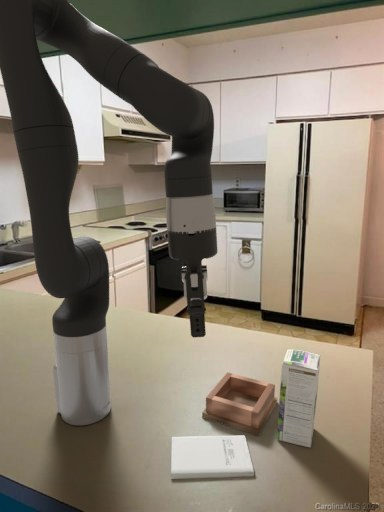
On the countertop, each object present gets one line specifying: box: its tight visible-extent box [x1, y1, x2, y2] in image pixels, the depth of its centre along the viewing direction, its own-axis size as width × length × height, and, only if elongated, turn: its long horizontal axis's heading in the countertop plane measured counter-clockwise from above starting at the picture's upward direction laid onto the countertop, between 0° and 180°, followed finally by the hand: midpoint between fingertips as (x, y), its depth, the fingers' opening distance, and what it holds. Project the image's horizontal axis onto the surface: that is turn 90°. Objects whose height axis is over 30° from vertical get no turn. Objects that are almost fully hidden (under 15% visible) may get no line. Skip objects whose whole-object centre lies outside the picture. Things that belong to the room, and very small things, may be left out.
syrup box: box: [276, 348, 321, 448], centre depth 65 cm, size 6×6×14 cm
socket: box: [201, 371, 278, 437], centre depth 73 cm, size 11×11×4 cm
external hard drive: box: [170, 434, 255, 480], centre depth 62 cm, size 2×8×12 cm
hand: (198, 325), depth 62 cm, fingers open, 8 cm apart
